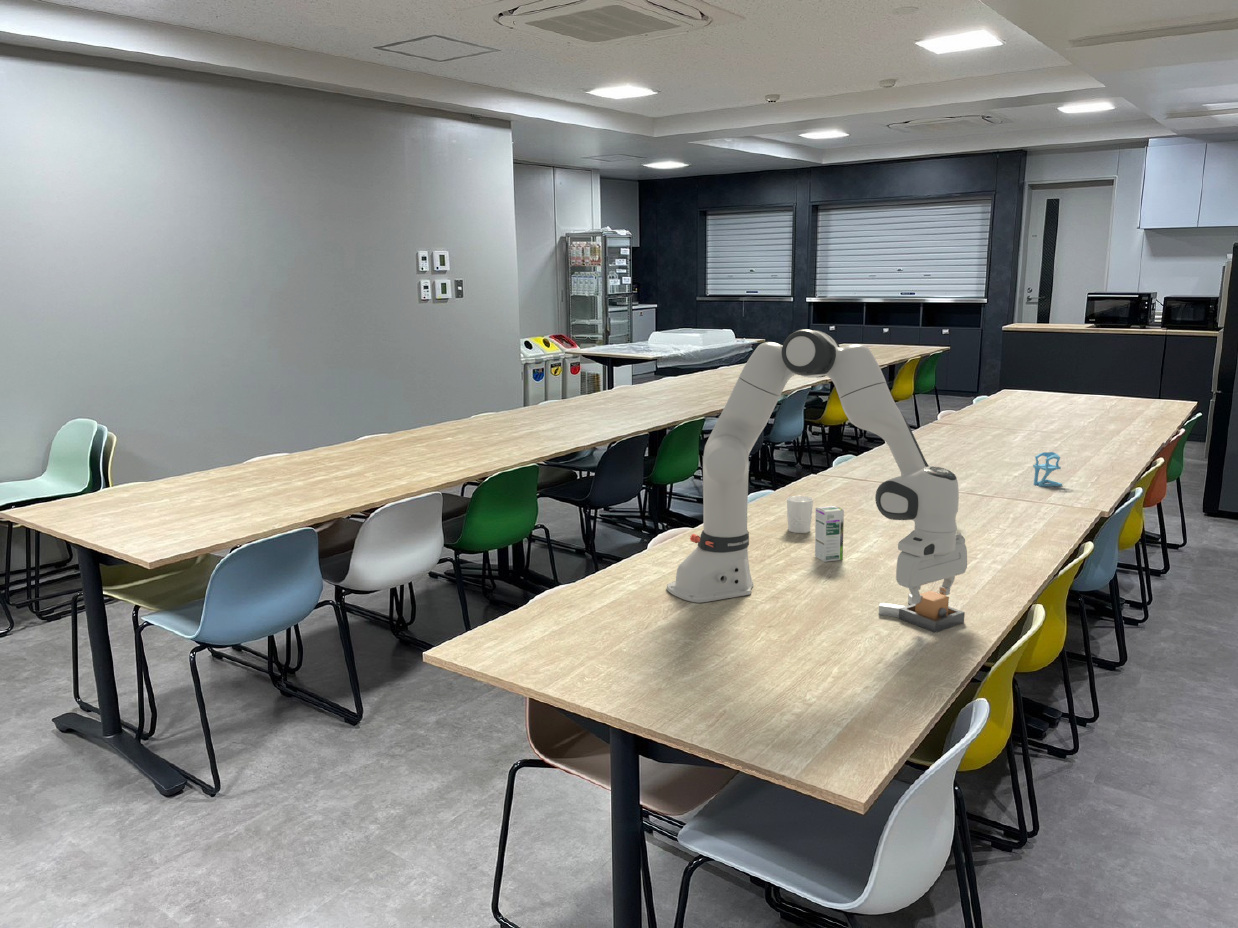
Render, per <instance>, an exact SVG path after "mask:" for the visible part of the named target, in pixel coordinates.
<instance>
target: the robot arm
mask: <svg viewBox="0 0 1238 928" xmlns="http://www.w3.org/2000/svg"><path fill="white" fill-rule="evenodd" d="M796 375H798V376H802V377H804V378H807V379H809V378H812V379H813V378H817V379H818V378H825V377H828V378H829V379H830V380H831V381H832V383H833V385H834V387H835V389H836V392H837V394H838V398H839V401H840V404H841V407H842V409H843V412H844V414H845V416H846V417H847V419H848V420H849V422H850V424H852V425H854V426H855V427H857V428H858V429H860V430H862V431H863V430H864V431H867V432H870V433H872V434H875V435H877V436H878V437H880V438H881V439H882V440H883V441H884V442H885V443H886V445H887V446H888V448H889V450H890V452H891V455H892V456H893V458H894V460H895V463H896V465H897V467H898V469H899V472H900V475H899V476H896V477H893V478H889V479H887V480H885V481H883V482H882V483H880V484H879V486H878V487H877V488H876V492H875V498H874V500H875V504H876V508H877V510H878V511H879V513H880V514H881V515H882V516H884V517H885V518H886V519H889V520H892V521H912V522H914V530H912V531H910V533H909V534H907V535H906V536H904V537H903V538H902V539H900V541H898V543H897V549H898V551H900V553H899V554H898V557H897V560H896V571H895V572H896V573H895V579H896V583H897V584H898V585H899V586H901V587H903V588H907V589H908V590H909V592H910V594H912V602H913V603H915V604H919V603H922V599H923V596H922V595H920V594H921V593H920V590H921V586H924V585H929V584H931V583H932V584H933V583H935V582H938V581H942V580H943V581H942V584H941V586H939V591H938V592H939V594H942V595H945V596H948V595H950V594H951V587H952V586H953V584H954V582H955V576H959V575H963V574H965V573H966V570H967V569H968V549H967V546H966V538H965V537H964V536H963V535H962V534H961V533H957V532H958V529H957V528H958V527H957V522H956V521H957V520H956V517H957V514H958V511H959V501H960V500H959V497H960V495H959V494H960V493H959V491H960V490H959V482H958V478H957V475H956V474H955V473H953V472H952V470H949V469H947V468H944V467H940V466H932V465H931V466H930V465H929V464H928V462H927V461H926V459H925V456H924V454H923V452H922V449H921V448H920V446H919V444H918V441H917V439H916V437H915V435H914V433H913V431H912V429H911V426H910V425H909V423H908V421H907V419H906V417H905V415H903V413H902V411H901V410H900V409H899V408H898V406H897V404H896V402H895V400H894V398H893V396H892V394H891V391H890V389H889V386H888V384H887V381H886V378H885V376H884V374H883V371H882V369H881V366H880V365H879V363H878V361H877V360H876V357H875V355H874V354H873V353H872V351H871V349H870V348H869V347H868V346H866V345H864V344H858V343H854V344H849V345H844V346H843V347H841V346H840V344H839V343H838V341H837V340H836V339H835V338H834V337H833V336H831V335H829V334H827V333H826V332H823V331H821V330H815V329H814V330H812V329H807V328H806V329H803V328H802V329H799V330H796V331H795V332H794V331H793V333H791V334H789V335H788V337H786V339H785V340H784V341H783V344H780V343H777V342H773V341H765V342H762V343H760V344H759V345H758V346H757V347H756V348H755V350H754V351H753V352H752V354H751V355H750V357H749V358H748V359H747V362H746V363H745V364H744V366H743V369H742V370H741V372H740V374H739V376H738V378H737V379H736V383H735V385H734V387H733V388H732V391H731V393H730V395H729V397H728V400H727V402H726V403H725V405H724V407H723V409H722V411H721V412H720V415H719V417H718V419H717V421H716V422H715V424H714V427H713V428H712V431H711V432H710V434H709V436H708V439H707V441H706V443H705V444H704V449H703V457H702V485H703V486H702V487H703V488H702V491H703V492H702V496H703V497H702V498H703V501H702V502H703V511H702V512H703V523H702V524H703V527H702V528H703V529H702V531H701V534H700V536H699V535H697V534H695V533H693V534H691V535H690V538H689V540H690V542H691V543H695V544H697V547H696V548H695V549H694V550H693V551H691V553H690V554H689V555H688V556H687V557H686V558H685V559H684V560H683V561H682V562H681V563H679V565H678V566H677V570H676V576H675V581H672V582H670V583H667V584H666V590H667V591H668V593H670V594H671V595H673V596H675V597H677V598H680V599H682V600H685V601H687V602H691V603H698V604H699V603H707V602H708V603H709V602H713V601H719V600H724V599H729V598H730V599H732V598H736V597H737V598H738V597H743V596H748V595H751V594H752V588H753V586H754V582H753V579H752V575H751V569H750V562H749V552H748V547H749V545H750V532H749V531H748V505H749V504H748V503H749V501H748V498H749V465H750V464H749V462H750V461H749V456H750V454H751V451H752V449H753V447H754V446H755V444H756V442H757V441H758V438H759V437H760V435H761V433H762V432H763V430H764V429H765V427H766V426H767V423H768V422H769V420H770V417H771V415H772V413H773V412H774V410H775V407H776V405H777V404H778V402H779V399H780V397H781V396H782V393H783V391H784V389H785V387H786V385H787V384H788V382H789V380H790V379H791V378H793V377H794V376H796Z"/></svg>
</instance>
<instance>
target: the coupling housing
mask: <svg viewBox="0 0 1238 928" xmlns="http://www.w3.org/2000/svg"><path fill="white" fill-rule="evenodd" d="M907 603H908V605H902V604H901V605H900V604H894V603H887V602H880V603H879V605H878V615H881V616H886V617H893V618H898V620H901V621H903V622H906V623H909V624H912V625H914V626H917V627H920V628H922V629H925V630H927V631H929V632H932V633H938V632H940V631H944V630H947V629H950V628H952V627H956V626H958V625H960V624H964V623H965V611H963V610H959V609H956V608H954V607H951V606H949V605H948V615H947V616H944V617H941V618H938V619H932V618H929V617H927V616H924V615H921V614H918V613H916V612H915V606H916V604H915V603H913V602H912V594H911V593H908V597H907Z"/></svg>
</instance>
